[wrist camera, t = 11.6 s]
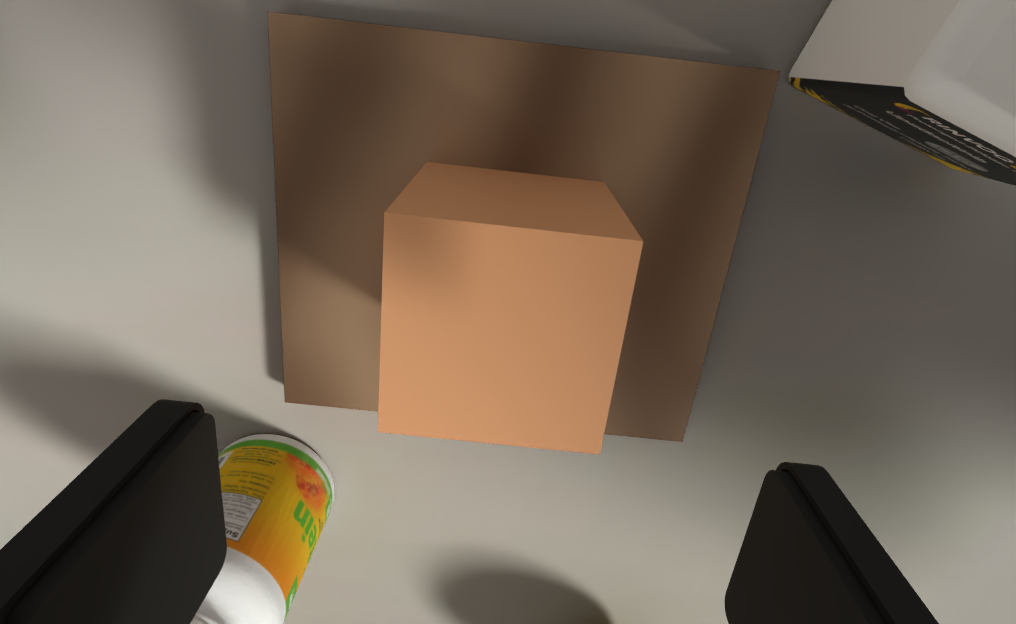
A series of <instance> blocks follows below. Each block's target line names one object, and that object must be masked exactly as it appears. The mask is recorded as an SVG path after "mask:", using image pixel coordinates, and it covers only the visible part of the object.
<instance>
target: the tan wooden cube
mask: <svg viewBox="0 0 1016 624" xmlns="http://www.w3.org/2000/svg"><path fill="white" fill-rule="evenodd" d="M642 246H643V240H642V238H641V237H640V235H639V234H638V232H637V231H636V229H635V228H634V226H633V225H632V223H631V222H630V220H629V219H628V217H627V216H626V214H625V213H624V211H623V210H622V208H621V207H620V205H619V204H618V202H617V200H616V199H615V197H614V196H613V194H612V193H611V191H610V190H609V188H608V187H607V185H606V184H605V182H600V181H591V180H582V179H573V178H564V177H555V176H547V175H538V174H529V173H520V172H511V171H503V170H494V169H485V168H476V167H467V166H458V165H450V164H441V163H432V162H426V164H425V165H424V166H423V167H422V168H421V170H420V171H419V172H418V173H417V174H416V175H415V177H414V178H413V179H412V180H411V181H410V183H409V184H408V185H407V186H406V187H405V189H404V190H403V191H402V192H401V193H400V194H399V196H398V197H397V198H396V199H395V200H394V202H393V203H392V204H391V205H390V206H389V207H388V209H387V210H386V211H385V212H384V237H383V271H382V305H381V339H380V373H379V408H378V432H383V433H393V434H403V435H413V436H423V437H433V438H443V439H453V440H462V441H472V442H482V443H492V444H502V445H512V446H522V447H532V448H542V449H552V450H561V451H571V452H581V453H591V454H600V451H601V446H602V442H603V437H604V432H605V427H606V422H607V417H608V412H609V407H610V402H611V397H612V393H613V388H614V383H615V378H616V373H617V368H618V363H619V358H620V353H621V349H622V344H623V339H624V334H625V329H626V324H627V319H628V314H629V309H630V305H631V300H632V295H633V290H634V285H635V280H636V275H637V270H638V265H639V260H640V256H641V251H642Z"/></svg>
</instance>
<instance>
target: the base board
mask: <svg viewBox="0 0 1016 624" xmlns="http://www.w3.org/2000/svg"><path fill="white" fill-rule="evenodd" d="M268 35H269V57H270V80H271V102H272V124H273V147H274V169H275V192H276V214H277V236H278V259H279V281H280V303H281V326H282V348H283V371H284V393H285V402H288V403H298V404H308V405H318V406H328V407H338V408H348V409H358V410H368V411H378V408H379V373H380V339H381V305H382V271H383V237H384V212H385V211H386V210H387V209H388V207H389V206H390V205H391V204H392V203H393V202H394V200H395V199H396V198H397V197H398V196H399V194H400V193H401V192H402V191H403V190H404V189H405V187H406V186H407V185H408V184H409V183H410V181H411V180H412V179H413V178H414V177H415V175H416V174H417V173H418V172H419V171H420V170H421V168H422V167H423V166H424V165H425V164H426V162H432V163H441V164H450V165H458V166H467V167H476V168H485V169H494V170H503V171H511V172H520V173H529V174H538V175H547V176H555V177H564V178H573V179H582V180H591V181H600V182H605V184H606V185H607V187H608V188H609V190H610V191H611V193H612V194H613V196H614V197H615V199H616V200H617V202H618V204H619V205H620V207H621V208H622V210H623V211H624V213H625V214H626V216H627V217H628V219H629V220H630V222H631V223H632V225H633V226H634V228H635V229H636V231H637V232H638V234H639V235H640V237H641V238H642V240H643V246H642V251H641V256H640V260H639V265H638V270H637V275H636V280H635V285H634V290H633V295H632V300H631V305H630V309H629V314H628V319H627V324H626V329H625V334H624V339H623V344H622V349H621V353H620V358H619V363H618V368H617V373H616V378H615V383H614V388H613V393H612V397H611V402H610V407H609V412H608V417H607V422H606V427H605V432H604V434H609V435H619V436H629V437H639V438H649V439H659V440H669V441H679V442H683V438H684V434H685V430H686V427H687V423H688V419H689V415H690V412H691V408H692V404H693V400H694V396H695V393H696V389H697V385H698V381H699V377H700V374H701V370H702V366H703V362H704V358H705V355H706V351H707V347H708V343H709V339H710V336H711V332H712V328H713V324H714V320H715V317H716V313H717V309H718V305H719V301H720V298H721V294H722V290H723V286H724V282H725V279H726V275H727V271H728V267H729V264H730V260H731V256H732V252H733V248H734V245H735V241H736V237H737V233H738V229H739V226H740V222H741V218H742V214H743V210H744V207H745V203H746V199H747V195H748V191H749V188H750V184H751V180H752V176H753V172H754V169H755V165H756V161H757V157H758V153H759V150H760V146H761V142H762V138H763V134H764V131H765V127H766V123H767V119H768V116H769V112H770V108H771V104H772V100H773V97H774V93H775V89H776V85H777V81H778V78H779V74H780V71H774V70H765V69H756V68H748V67H739V66H731V65H722V64H713V63H705V62H696V61H688V60H679V59H671V58H662V57H653V56H645V55H636V54H628V53H619V52H610V51H602V50H593V49H585V48H576V47H567V46H559V45H550V44H542V43H533V42H525V41H516V40H507V39H499V38H490V37H482V36H473V35H464V34H456V33H447V32H439V31H430V30H421V29H413V28H404V27H396V26H387V25H379V24H370V23H361V22H353V21H344V20H336V19H327V18H318V17H310V16H301V15H293V14H284V13H275V12H268Z"/></svg>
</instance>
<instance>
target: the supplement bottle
mask: <svg viewBox="0 0 1016 624" xmlns="http://www.w3.org/2000/svg"><path fill="white" fill-rule="evenodd" d="M218 459H219V469H220V479H221V490H222V500H223V510H224V520H225V530H226V540H227V552H226V558H225V561H224V564H223V567H222V569H221V571H220V573H219V575H218V576H217V578H216V580H215V582H214V583H213V585H212V587H211V589H210V590H209V592H208V594H207V595H206V597H205V599H204V601H203V602H202V604H201V606H200V608H199V609H198V611H197V613H196V614H195V616H194V618H193V620H192V621H191V623H190V624H283V623H284V620H285V618H286V615H287V613H288V611H289V608H290V605H291V603H292V601H293V598H294V596H295V593H296V591H297V589H298V586H299V584H300V581H301V579H302V577H303V574H304V572H305V569H306V567H307V564H308V562H309V560H310V557H311V555H312V553H313V550H314V548H315V546H316V543H317V541H318V539H319V536H320V534H321V531H322V529H323V527H324V524H325V522H326V520H327V517H328V515H329V512H330V510H331V507H332V504H333V500H334V483H333V479H332V476H331V473H330V471H329V469H328V467H327V466H326V464H325V463H324V462H323V460H322V459H321V458H320V457H319V456H318V455H317V454H316V453H315V452H314V451H313V450H311V449H310V448H308V447H307V446H305V445H304V444H302V443H300V442H298V441H296V440H294V439H291V438H288V437H284V436H280V435H273V434H258V435H251V436H247V437H244V438H241V439H239V440H237V441H235V442H233V443H231V444H230V445H228V446H227V447H226V448H225V449H223V450H222V451H221V453H220V454H219V455H218Z"/></svg>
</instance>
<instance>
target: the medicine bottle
mask: <svg viewBox="0 0 1016 624" xmlns="http://www.w3.org/2000/svg"><path fill="white" fill-rule="evenodd" d="M788 77H789V82H790V83H791V84H792V85H793V86H794V87H796V88H797V89H799V90H801V91H803V92H805V93H807V94H809V95H811V96H813V97H815V98H817V99H819V100H821V101H823V102H825V103H826V104H828V105H830V106H832V107H834V108H836V109H838V110H840V111H842V112H844V113H846V114H848V115H850V116H852V117H853V118H855V119H857V120H859V121H861V122H863V123H865V124H867V125H869V126H871V127H873V128H875V129H877V130H879V131H881V132H882V133H884V134H886V135H888V136H890V137H892V138H894V139H896V140H898V141H900V142H902V143H904V144H906V145H908V146H909V147H911V148H913V149H915V150H917V151H919V152H921V153H923V154H925V155H927V156H929V157H931V158H933V159H935V160H937V161H938V162H940V163H942V164H944V165H946V166H948V167H950V168H952V169H956V170H959V171H963V172H967V173H971V174H974V175H978V176H982V177H986V178H989V179H993V180H997V181H1001V182H1004V183H1008V184H1012V185H1016V0H832V1H831V3H830V5H829V6H828V8H827V10H826V11H825V13H824V15H823V16H822V18H821V20H820V21H819V23H818V25H817V27H816V28H815V30H814V32H813V33H812V35H811V37H810V38H809V40H808V42H807V44H806V45H805V47H804V49H803V50H802V52H801V54H800V55H799V57H798V59H797V60H796V62H795V64H794V66H793V67H792V69H791V71H790V73H789V76H788Z"/></svg>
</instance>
